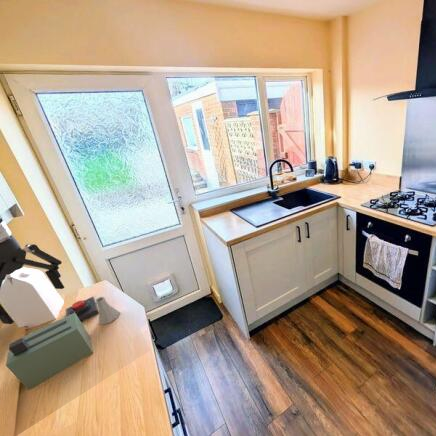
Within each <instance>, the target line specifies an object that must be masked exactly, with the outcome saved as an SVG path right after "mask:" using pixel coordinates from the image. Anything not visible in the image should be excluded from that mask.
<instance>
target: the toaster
mask: <svg viewBox="0 0 436 436" xmlns="http://www.w3.org/2000/svg"><path fill="white" fill-rule="evenodd" d="M21 338H24V339H25V341H26V342H27V343H28V344H29V350H27V351H25V352H23V353H21V354H19V355H17V356H15V355H14V354H13V353H12V352H11V351H10V349H9V348H8V351H7V356H6V362H5V366H6V368H8V369H9V371H10V372H11V373H12V374H13V375H14V376H15V377H16V378H17V379H18V380H19V382H20V383H21V384H22V385H23V386H24V387H25V388H26V389H27V390H28V391H29V390H31V389H33V388H34V387H36V386H38V385H40V384H42V383H44V382H45V381H48V380H49V379H50V378H52V377H54V376H56V375H57V374H59V373H61V372H62V371H64V370H66V369H67V368H70V367H71V366H74V365H75V364H76V363H78V362H80V361H82V360H84V359H85V358H87V357H89V356H91V355H92V354H94V349H93V346H92V342H91V336H90V334H89V332H88V331H87V329H86V327H85V326H84V324H83V323H82V322H81V321H80V320H79V318H78V317H77V315H76V313H73V314H71V315H68V316H64V317H62V318H60V319H58V320H56V321H54V322H52V323H49V324H47V325H45V326H43V327H41V328H38V329H37V330H35V331H33V332H30V333H28V334H26V335H23V336H22V337H19V338H18V339H15V340H13V341H11V342H10V343H12V342H14V341H16V340H19V339H21Z"/></svg>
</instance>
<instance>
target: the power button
mask: <svg viewBox="0 0 436 436" xmlns="http://www.w3.org/2000/svg"><path fill="white" fill-rule="evenodd" d="M83 306H85V303H84V300H81V299H80V300H78V301H75V302H74V303H73V304H72V305H71V307H72V308H73V309H74V310H78V309H80V308H82V307H83Z"/></svg>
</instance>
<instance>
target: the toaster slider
mask: <svg viewBox="0 0 436 436" xmlns="http://www.w3.org/2000/svg"><path fill="white" fill-rule="evenodd" d="M20 338H21V339H20ZM20 338H18V339H19V340H17V339H15V340H16V341H15V340H13V341H14V342H13V341H11V342H12V343H11V342H9V345H8V350H9V349H10V351H11V352H12V353H13V354H14V355H15V356H17V355H19V354H21V353H23V352H25V351H27V350H29V344H28V343H27V342H26V341H25V339H24V338H22V337H20Z"/></svg>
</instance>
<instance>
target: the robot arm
mask: <svg viewBox="0 0 436 436" xmlns="http://www.w3.org/2000/svg"><path fill="white" fill-rule="evenodd" d="M27 254H31V255H34V256H35V257H37V258H38V259H40V260H43V261H45V262H47V263H44V262H41V261H35V260H33V259H27V257H26V256H27ZM62 263H63V262H62V260H60V259H58V258H56V257H54V256H53V255H51V254H49V253H48V252H45V251H43V250H41V249H40V248H39V247H38V245H37V244H36V243H35V244H31V243H29V244H28V243H27V244H26V245H25V246H24V247H23V248H22V247H21V245H20V243H19V241H18V240H17V239H16V237H15V236H14V235H12V231H11V229H10V228H9V227H8V225H7V223H6V222H5V221H4V219H3V218H2V216H1V215H0V288H1V286H2V285H3V283H4V281H5V280H6V275H10V274H11V273H13V272H14V271H16V270H18V269H21V268H23V267H24V266H27V267H33V268H39V269H42V270H46V271H44V274H45V276H46V277H47V279H48V280H49V281H50V283H51V284H52V286H53V287H54V288H55V290H63V289H64V288H65V286H64V284H63V282H62V281H61V279H60V278H61V277H62V275H61V273H60V271H59V269H60V265H62ZM0 321H1V323H2V324H5V325H12V324H14V323H15V321H14V319H13V318H12V316H11V315H10V314H9V312H8V311H7V310H6V308H4V306H3V305H2V304H1V303H0Z"/></svg>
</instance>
